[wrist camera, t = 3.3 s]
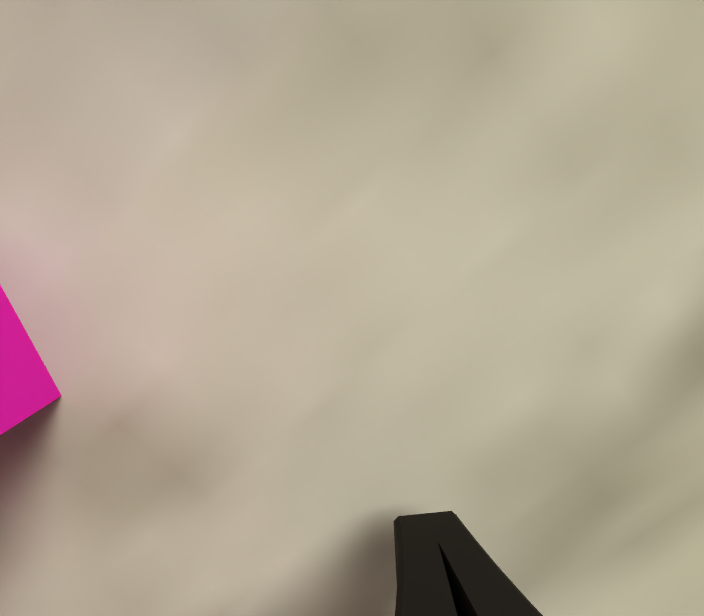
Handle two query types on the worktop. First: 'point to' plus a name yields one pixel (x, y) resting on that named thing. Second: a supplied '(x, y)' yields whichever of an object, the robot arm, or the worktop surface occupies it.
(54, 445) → the worktop surface
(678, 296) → the worktop surface
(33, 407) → the toy block
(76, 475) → the worktop surface
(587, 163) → the worktop surface
